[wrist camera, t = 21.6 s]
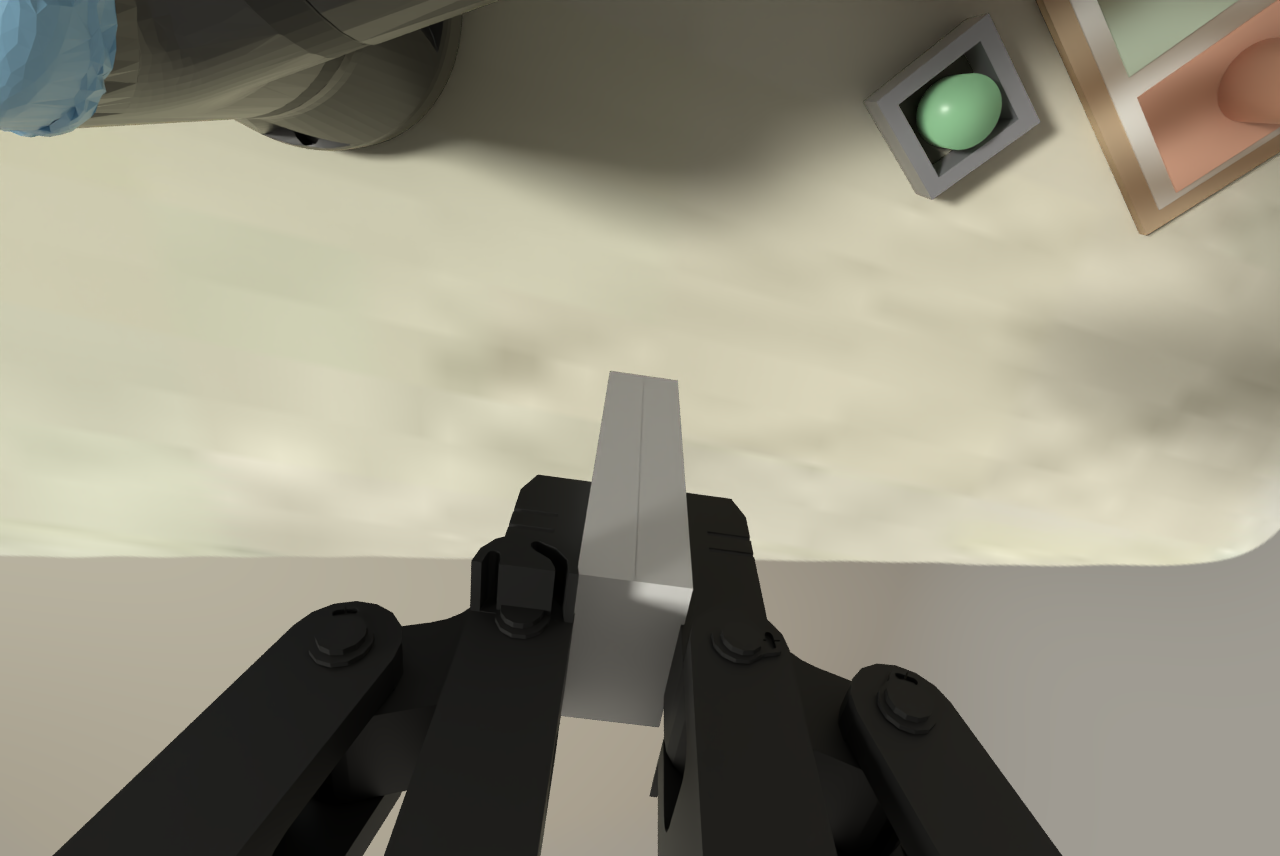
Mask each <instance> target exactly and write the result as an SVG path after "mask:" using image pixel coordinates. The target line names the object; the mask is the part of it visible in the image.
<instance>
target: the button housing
mask: <svg viewBox="0 0 1280 856" xmlns="http://www.w3.org/2000/svg"><path fill="white" fill-rule="evenodd" d="M963 54H965V56H966V58H967V60H968V62H969V64H970V66H971V68H972V70H973V72H974V73H979V74H983V75H986V76H988V77H989V78H991V79H992V80H993V81H994V82H995V83H996V84H997V86H998V88H999V90H1000V93H1001V98H1002V108H1001V113H1000V117H999V119H998V122H997V124H996V126H995V127H994V129H993V130H992V132H991V133H990V134H989V135H988V136H987V137H986V138H985V139H984V140H983V141H982V142H980V143H979V144H977V145H975V146H973V147H970V148H968V149H963V150H952V151H951V152H950V153H948V154H947V155H946V156H944V157H943V158H942V159H940V160H939V161H937V162H936V163H935V164H933V165H932V164H931V162H930V161H929V159H928V157H927V155H926V153H925V152H924V150H923V148H922V146H921V144H920V143H919V141H918V139H917V137H916V135H915V134H914V132H913V130H912V128H911V126H910V125H909V123H908V121H907V119H906V117H905V116H904V114H903V112H902V110H901V109H900V107H899V104H900V103H901V102H903V101H904V100H905V99H906V98H908V97H909V96H910V95H912V94H913V93H914V92H915V91H917V90H918V89H919V88H921V87H922V86H923V85H924V84H926V83H927V82H928V81H930V80H931V79H932V78H933V77H935V76H936V75H937V74H939V73H940V72H941V71H942V70H944V69H945V68H946V67H948V66H949V65H950V64H951V63H953V62H954V61H955V60H956V59H958V58H959V57H960V56H962V55H963ZM863 103H864V105H865V106H866V108H867V110H868V112H869V113H870V115H871V117H872V118H873V120H874V122H875V124H876V125H877V127H878V129H879V131H880V132H881V134H882V136H883V137H884V139H885V141H886V143H887V144H888V146H889V148H890V150H891V151H892V153H893V155H894V156H895V158H896V160H897V162H898V163H899V165H900V167H901V169H902V170H903V172H904V174H905V175H906V177H907V179H908V181H909V182H910V184H911V186H912V188H913V189H914V191H915V193H916V194H918V195H921V196H923V197H926V198H929V199H931V200H932V199H934V198H935V197H937V196H938V195H939V194H941V193H942V192H944V191H945V190H946V189H948V188H949V187H951V186H952V185H953V184H955V183H956V182H958V181H959V180H960V179H962V178H963V177H965V176H966V175H967V174H969V173H970V172H972V171H973V170H974V169H976V168H977V167H979V166H980V165H981V164H983V163H984V162H986V161H987V160H988V159H990V158H991V157H993V156H994V155H995V154H997V153H998V152H1000V151H1001V150H1002V149H1004V148H1005V147H1007V146H1008V145H1009V144H1011V143H1012V142H1014V141H1015V140H1016V139H1018V138H1019V137H1021V136H1022V135H1023V134H1025V133H1026V132H1028V131H1029V130H1030V129H1032V128H1033V127H1035V126H1036V125H1037V124H1039V123H1040V120H1039V118H1038V116H1037V113H1036V111H1035V109H1034V107H1033V105H1032V103H1031V101H1030V99H1029V97H1028V94H1027V92H1026V90H1025V88H1024V86H1023V84H1022V82H1021V80H1020V78H1019V76H1018V73H1017V71H1016V69H1015V67H1014V65H1013V63H1012V61H1011V59H1010V57H1009V54H1008V52H1007V50H1006V48H1005V46H1004V44H1003V42H1002V40H1001V38H1000V35H999V33H998V31H997V29H996V27H995V25H994V23H993V21H992V19H991V17H990V14H989V13H988V14H984V15H980V16H976V17H972V18H968V19H966V20H965V21H964V22H962V23H961V24H960V25H959V26H957V27H956V28H955V29H954V30H952V31H951V32H950V33H949V34H947V35H946V36H945V37H944V38H942V39H941V40H940V41H939V42H937V43H936V44H935V45H934V46H932V47H931V48H930V49H929V50H927V51H926V52H925V53H924V54H922V55H921V56H920V57H918V58H917V59H916V60H915V61H913V62H912V63H911V64H910V65H908V66H907V67H906V68H905V69H903V70H902V71H901V72H900V73H898V74H897V75H896V76H895V77H893V78H892V79H891V80H890V81H888V82H887V83H886V84H885V85H883V86H882V87H881V88H880V89H878V90H877V91H876V92H874V93H873V94H872V95H871V96H869V97H868V98H867V99H866V100H864V101H863Z"/></svg>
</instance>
